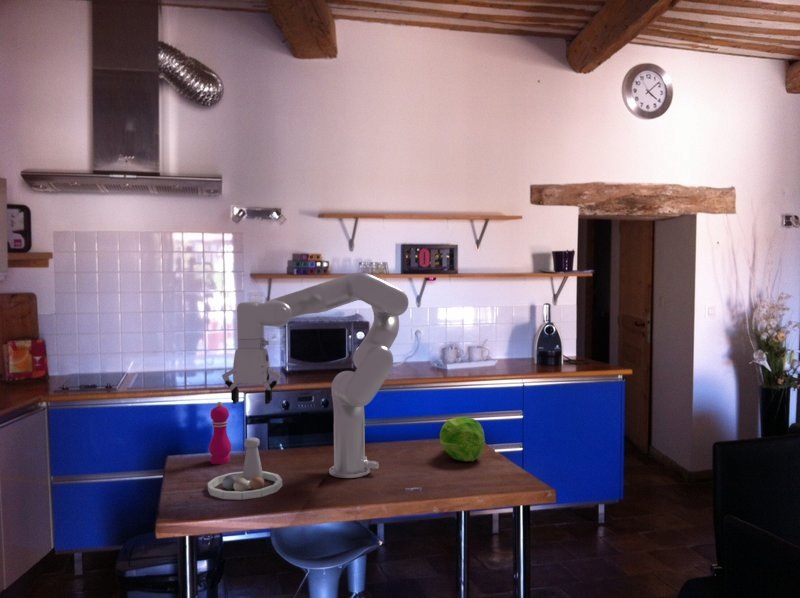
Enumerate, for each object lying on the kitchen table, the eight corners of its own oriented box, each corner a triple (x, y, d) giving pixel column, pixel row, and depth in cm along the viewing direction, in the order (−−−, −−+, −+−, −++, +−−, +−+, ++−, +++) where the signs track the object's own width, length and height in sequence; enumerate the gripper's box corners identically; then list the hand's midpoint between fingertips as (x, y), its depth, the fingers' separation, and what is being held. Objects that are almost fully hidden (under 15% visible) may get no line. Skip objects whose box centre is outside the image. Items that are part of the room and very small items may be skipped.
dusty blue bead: (236, 492, 183) (237, 481, 186) (236, 483, 181) (237, 472, 184) (221, 492, 182) (223, 481, 186) (221, 483, 180) (223, 472, 184)
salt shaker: (265, 479, 192) (264, 436, 192) (259, 485, 186) (258, 440, 186) (246, 479, 193) (245, 435, 192) (239, 485, 187) (238, 440, 187)
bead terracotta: (262, 494, 181) (268, 482, 184) (257, 484, 179) (263, 473, 182) (250, 493, 183) (256, 482, 186) (245, 483, 181) (251, 472, 184)
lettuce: (428, 457, 228) (470, 461, 231) (444, 460, 207) (490, 464, 209) (432, 415, 231) (473, 419, 234) (447, 413, 210) (492, 417, 212)
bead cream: (247, 495, 180) (251, 482, 183) (244, 488, 178) (247, 475, 181) (233, 495, 181) (237, 482, 184) (230, 487, 178) (233, 474, 181)
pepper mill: (236, 460, 217) (235, 400, 216) (221, 465, 210) (221, 404, 210) (219, 457, 220) (218, 399, 219) (204, 463, 213) (203, 402, 213)
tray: (289, 482, 193) (289, 472, 193) (268, 505, 173) (268, 493, 173) (224, 480, 195) (224, 470, 195) (196, 502, 175) (196, 491, 175)
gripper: (283, 343, 192) (284, 401, 192) (226, 343, 193) (227, 400, 194) (276, 345, 184) (277, 405, 185) (217, 345, 186) (218, 405, 186)
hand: (251, 403), depth 189 cm, fingers open, 9 cm apart
